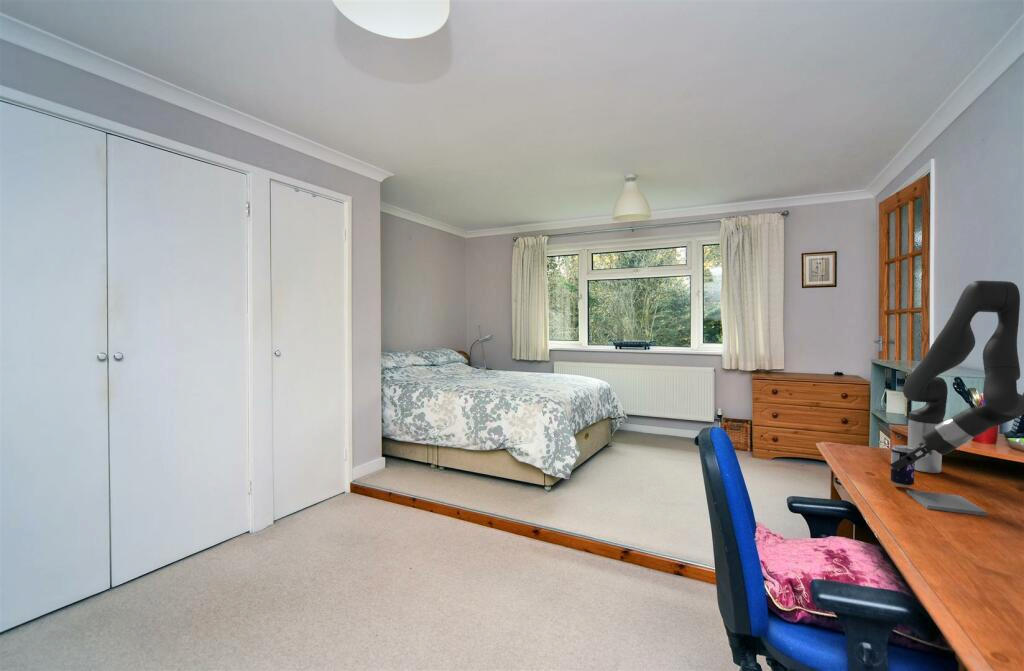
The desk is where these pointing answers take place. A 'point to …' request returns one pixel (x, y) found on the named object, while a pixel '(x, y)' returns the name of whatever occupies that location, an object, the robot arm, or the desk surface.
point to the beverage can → (905, 473)
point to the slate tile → (946, 502)
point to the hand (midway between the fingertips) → (895, 465)
